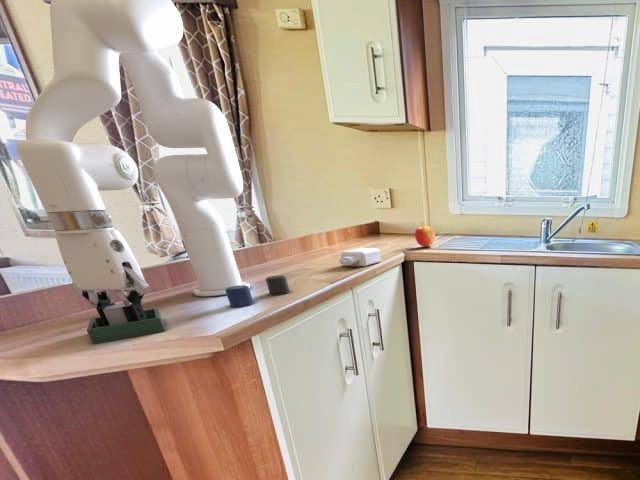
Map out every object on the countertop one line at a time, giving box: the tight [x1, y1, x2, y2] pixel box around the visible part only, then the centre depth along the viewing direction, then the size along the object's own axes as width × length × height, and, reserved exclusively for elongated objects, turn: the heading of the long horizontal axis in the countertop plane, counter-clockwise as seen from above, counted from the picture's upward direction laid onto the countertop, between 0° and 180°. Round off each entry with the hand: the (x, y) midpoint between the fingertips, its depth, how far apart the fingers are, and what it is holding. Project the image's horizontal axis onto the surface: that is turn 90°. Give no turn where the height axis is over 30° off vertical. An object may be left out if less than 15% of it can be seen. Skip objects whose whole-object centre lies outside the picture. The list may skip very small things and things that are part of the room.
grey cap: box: [103, 303, 128, 326], centre depth 79 cm, size 5×5×4 cm
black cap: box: [265, 274, 291, 296], centre depth 106 cm, size 5×5×4 cm
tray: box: [86, 307, 166, 345], centre depth 80 cm, size 10×10×3 cm
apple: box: [414, 223, 436, 248], centre depth 177 cm, size 8×8×10 cm
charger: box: [337, 247, 382, 268], centre depth 139 cm, size 5×9×15 cm
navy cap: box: [225, 285, 254, 308], centre depth 96 cm, size 5×5×4 cm
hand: (127, 324), depth 80 cm, fingers closed on grey cap, 4 cm apart
